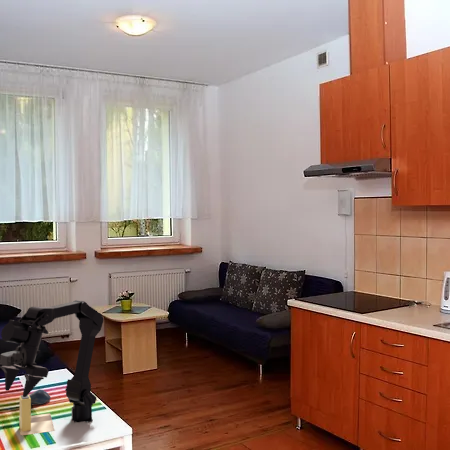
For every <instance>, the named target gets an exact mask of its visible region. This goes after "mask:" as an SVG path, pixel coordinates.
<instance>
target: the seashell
mask: <svg viewBox="0 0 450 450" xmlns="http://www.w3.org/2000/svg"><path fill="white" fill-rule="evenodd" d="M28 395H29V396H30V398H31V406H33V405H35V406H36V405H42V404H45V403H47V402H49V401H50V400H51V395H50V394H49V393H48V392H47V391H45V390H44V389H37V390H34V391H33V392H32V393H29V394H28Z"/></svg>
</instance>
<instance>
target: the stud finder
mask: <svg viewBox="0 0 450 450" xmlns="http://www.w3.org/2000/svg"><path fill="white" fill-rule="evenodd" d="M29 395H30V394H28V395H27V396H26V397H23V394H22V395H19V417H20V423H19V429H21V431H22V432H23V431H28V430H31V416H32V412H31V411H32V405H31V398H30V396H29Z"/></svg>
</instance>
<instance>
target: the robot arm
mask: <svg viewBox="0 0 450 450" xmlns="http://www.w3.org/2000/svg"><path fill="white" fill-rule="evenodd" d="M71 315H74V316H75V318H77V320H78V323H79V324H78V328H79V331H80V334H81V338H80V342H79V348H78V353H77V360H76V364H75V370H74V374H73V376H72V377H71V378H70V379H67V380H66V387H65V389H64V390H65V396H66V397H67V399H68V402H69V403H70V404H71V403H72V404H73V405H72V407H71V420H72V421H73V423H74V424H75V423H81V422H82V423H83V422H84V423H89V422H93V421H94V420H93V410H92V409H93V408H92V407H93V405H94V404H95V403H96V402H97V396H96V395H94V394H93V392H92V383H91V381H90V377H89V375H90V368H91V363H92V358H93V352H94V346H95V342H96V341H95V340H96V337H97V335H98V334H99V333H100V332H101V330H102V327H103V323H104V316H103V314H102V313H101V312H98V310H96V309H95V308H94V307H92V306H91V305H90V304H88V302H86V301H84V300H77V299H76V300H73V301H69V302H66V303H65V302H64V303H61V304H57V305H52V306H51V305H50V306H30V307H29V308H28V309H27V310H26V312H25V313H24V314H23V315H22V316H21V317H20V319H18V320H14V319H9V320H8V323H6V324H5V325H4V327H3V328H2V329H1V333H0V336H1V339H2V340H3V341H4V342H7V343H8V342H9V343H15V344H20V345H17V346H16V347H15V350H12V351H6V352H3V353H1V354H0V369H1V370H2V371H3V372H4V383H5V384H4V385H5V387H4V388H5V391H10V389H11V388H12V386H13V384H14V383H15V381H16V377H17V376H18V375H19V372H20V370H23V371H25V372H26V373H25V374H23V377H24V378H25V384H24V387H23V391H22V395H23V397H26V396H27V395H30V394H31V392H32V390H33V389H34V388H35V387H36V386H37V385H38V384H39V383H40V382H41V381H42V380H44V379H45V378H48V375H49V370H48V368H47V367H43V366H41V365H37V364H38V363H36V362H35V361H36V357H37V355H38V354H41V350H39V348H40V344H41V341H42V337H43V334H45V335H48V334H49V331H48V329H47V328H46V326H47V325H49V324H51V323H53V322H54V320H56V319H58V318H63V317H68V316H71Z"/></svg>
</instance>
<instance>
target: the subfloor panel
mask: <svg viewBox="0 0 450 450" xmlns="http://www.w3.org/2000/svg"><path fill="white" fill-rule="evenodd" d="M18 421H19V424H20V416H19V417H18ZM19 429H20V428H19ZM55 431H56V430H55V427H54V423H53V420H52V415H51V413H42V414H36V415H31V430H28V431H23V432H22V431H21V429H20V430H19V432H20V436H27V435H33V434H40V433H47V432H49V433H50V432H55Z"/></svg>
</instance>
